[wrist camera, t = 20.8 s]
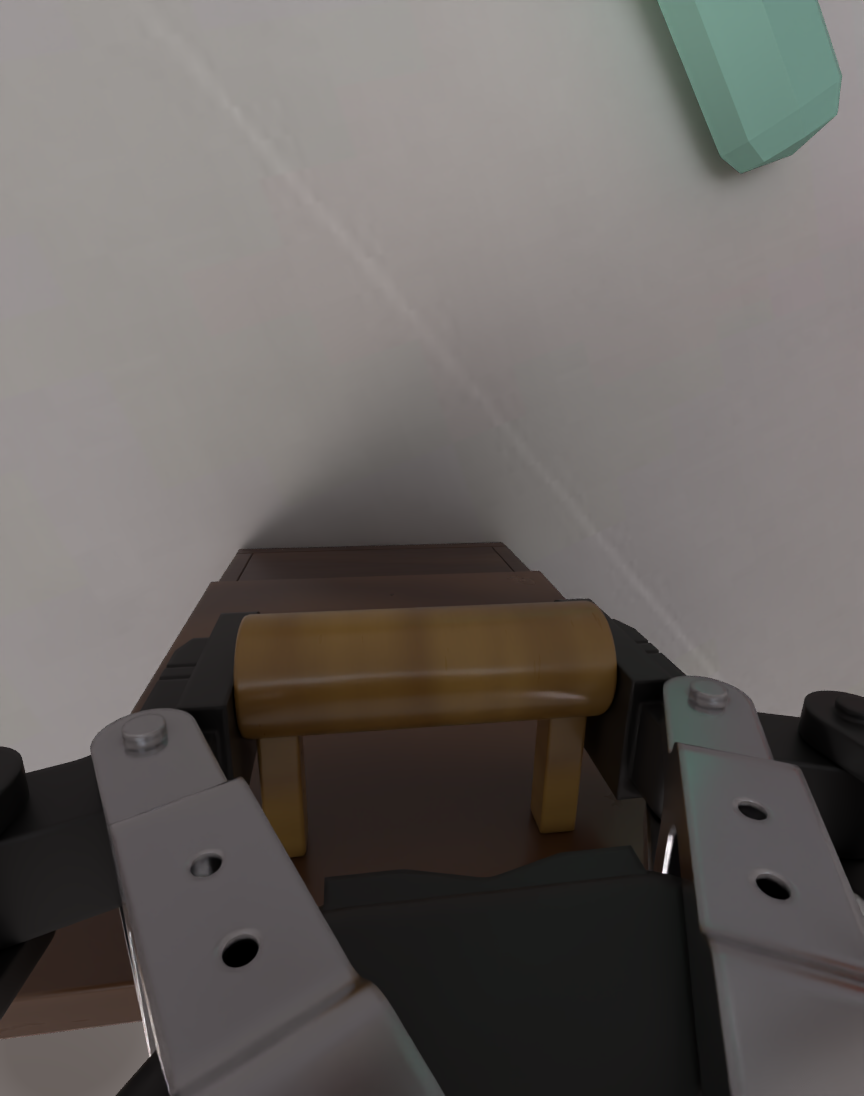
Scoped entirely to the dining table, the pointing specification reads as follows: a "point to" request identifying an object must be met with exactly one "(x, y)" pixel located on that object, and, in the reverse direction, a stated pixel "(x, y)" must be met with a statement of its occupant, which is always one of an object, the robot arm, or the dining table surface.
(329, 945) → the robot arm
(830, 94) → the container
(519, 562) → the chest
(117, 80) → the dining table surface
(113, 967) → the lid
